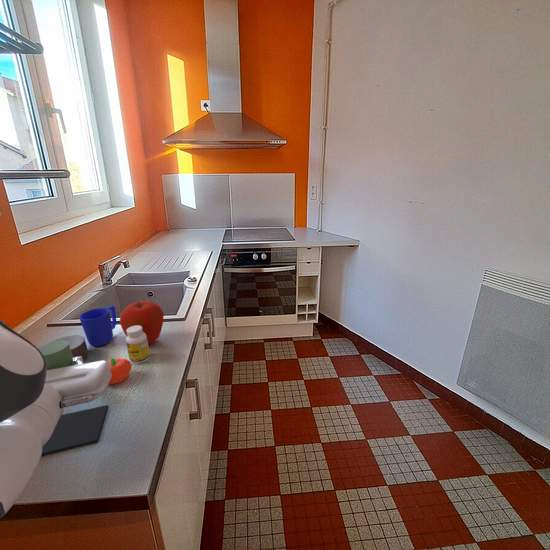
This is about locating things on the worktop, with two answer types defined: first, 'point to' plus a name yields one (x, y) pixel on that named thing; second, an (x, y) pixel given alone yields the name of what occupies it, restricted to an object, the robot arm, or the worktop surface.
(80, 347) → the plinth
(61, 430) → the mat
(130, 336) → the supplement bottle
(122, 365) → the pumpkin
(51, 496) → the worktop surface
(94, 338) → the mug
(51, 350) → the stacking piece
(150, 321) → the apple
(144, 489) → the worktop surface
